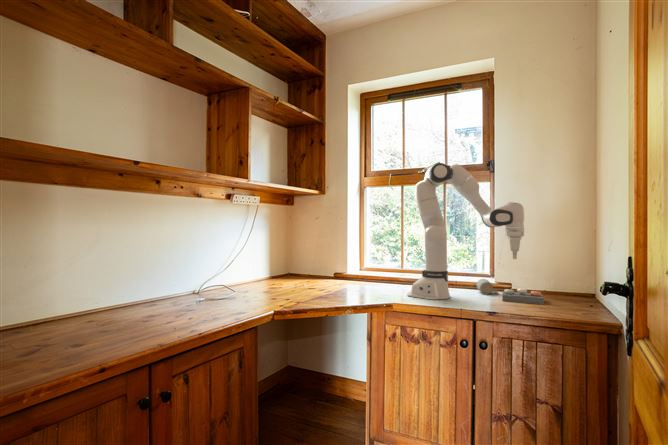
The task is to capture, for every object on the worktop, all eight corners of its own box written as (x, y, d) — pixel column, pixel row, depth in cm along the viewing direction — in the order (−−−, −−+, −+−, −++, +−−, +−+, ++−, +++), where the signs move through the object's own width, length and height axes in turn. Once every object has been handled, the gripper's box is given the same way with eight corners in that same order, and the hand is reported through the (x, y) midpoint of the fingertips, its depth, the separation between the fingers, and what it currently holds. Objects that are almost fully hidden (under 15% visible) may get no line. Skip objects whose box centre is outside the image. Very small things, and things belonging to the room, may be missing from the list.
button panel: (502, 300, 173) (502, 295, 173) (502, 296, 184) (502, 291, 184) (543, 304, 165) (543, 298, 165) (541, 299, 176) (541, 293, 176)
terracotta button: (531, 300, 171) (530, 292, 171) (530, 299, 175) (530, 290, 175) (541, 301, 169) (541, 293, 169) (540, 300, 173) (540, 291, 173)
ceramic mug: (480, 294, 190) (480, 280, 190) (476, 291, 198) (476, 278, 198) (500, 295, 188) (500, 281, 188) (495, 292, 196) (495, 279, 196)
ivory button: (517, 297, 174) (517, 289, 174) (517, 296, 177) (517, 287, 177) (527, 298, 172) (527, 290, 172) (526, 297, 175) (526, 288, 175)
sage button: (504, 298, 176) (504, 290, 176) (504, 297, 180) (504, 289, 180) (513, 299, 174) (513, 291, 174) (513, 297, 178) (513, 289, 178)
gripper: (508, 232, 192) (508, 257, 192) (507, 233, 174) (507, 260, 173) (521, 232, 189) (521, 257, 189) (521, 233, 171) (521, 261, 171)
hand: (514, 259), depth 181 cm, fingers closed
